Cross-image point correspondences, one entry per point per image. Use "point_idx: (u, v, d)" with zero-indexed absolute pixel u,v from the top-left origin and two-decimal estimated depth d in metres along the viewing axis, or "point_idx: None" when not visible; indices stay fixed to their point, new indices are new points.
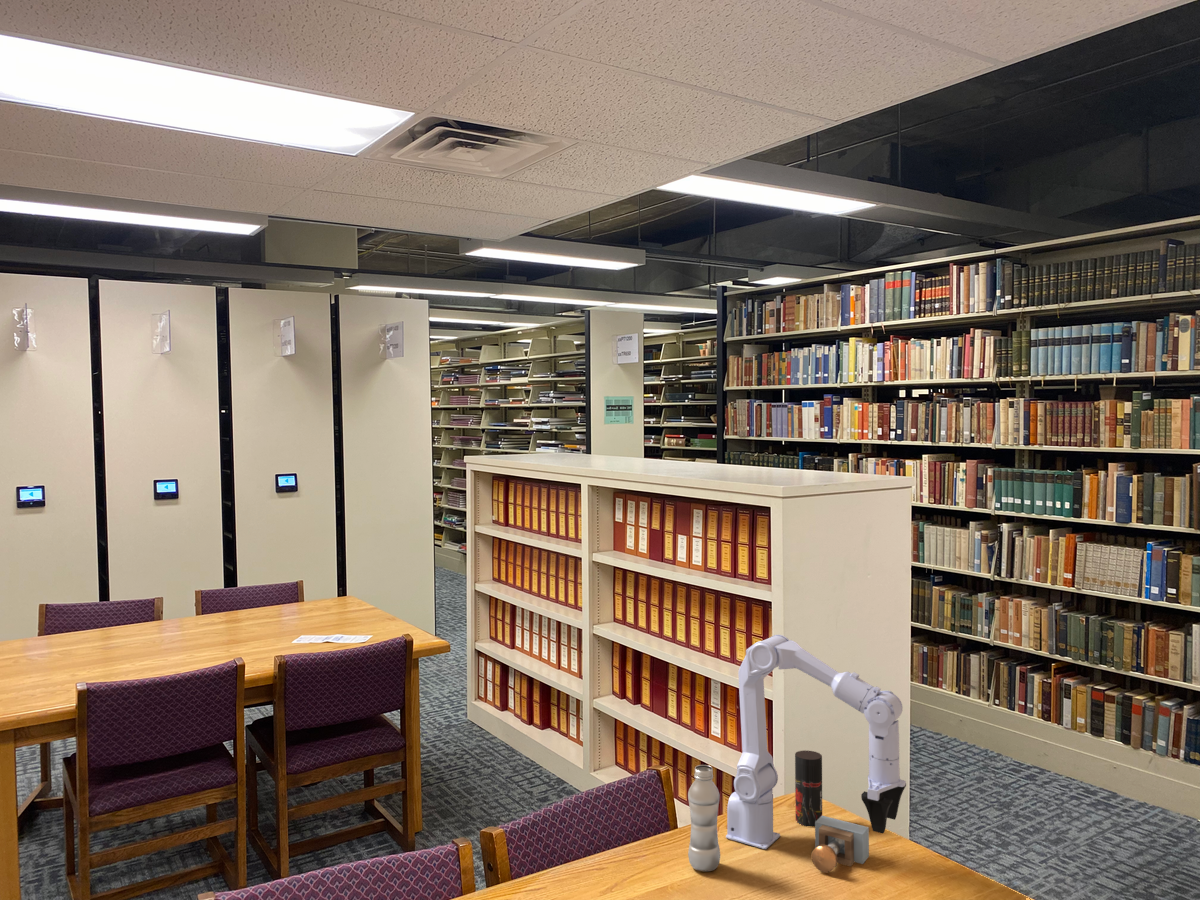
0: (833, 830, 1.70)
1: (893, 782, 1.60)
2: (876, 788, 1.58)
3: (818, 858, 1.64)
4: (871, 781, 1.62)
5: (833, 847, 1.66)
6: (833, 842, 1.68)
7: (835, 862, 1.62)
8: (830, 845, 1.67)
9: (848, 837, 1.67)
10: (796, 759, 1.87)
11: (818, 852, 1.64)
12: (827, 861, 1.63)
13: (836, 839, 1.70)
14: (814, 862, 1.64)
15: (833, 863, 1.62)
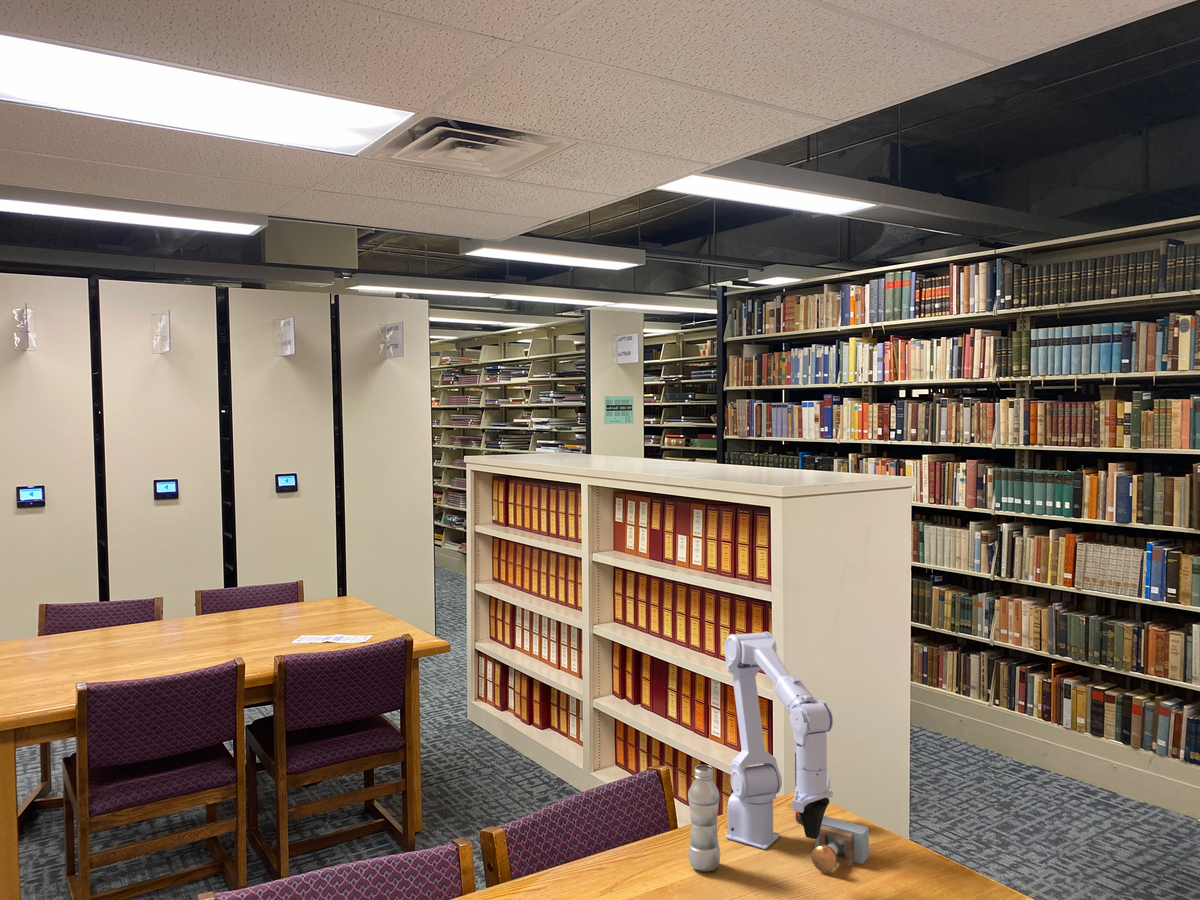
0: (833, 830, 1.70)
1: (820, 793, 1.56)
2: (801, 799, 1.54)
3: (818, 858, 1.64)
4: (798, 792, 1.58)
5: (833, 847, 1.66)
6: (833, 842, 1.68)
7: (835, 862, 1.62)
8: (830, 845, 1.67)
9: (848, 837, 1.67)
10: None
11: (818, 852, 1.64)
12: (827, 861, 1.63)
13: (836, 839, 1.70)
14: (814, 862, 1.64)
15: (833, 863, 1.62)
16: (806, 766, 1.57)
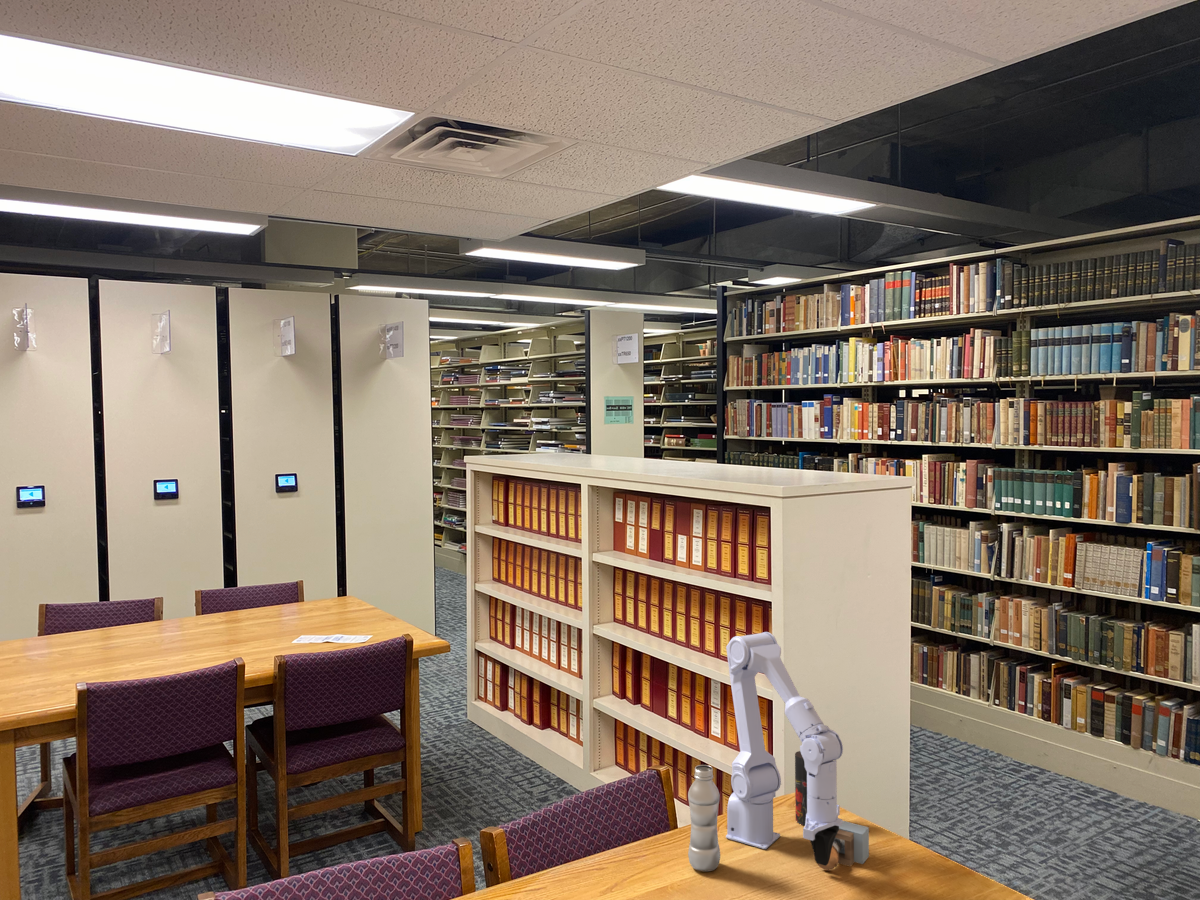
0: None
1: (830, 821, 1.60)
2: (812, 827, 1.59)
3: None
4: (808, 820, 1.62)
5: (835, 845, 1.67)
6: (835, 840, 1.69)
7: (837, 860, 1.63)
8: None
9: (848, 837, 1.67)
10: (796, 759, 1.87)
11: None
12: (829, 859, 1.64)
13: None
14: None
15: (835, 861, 1.63)
16: (820, 795, 1.61)
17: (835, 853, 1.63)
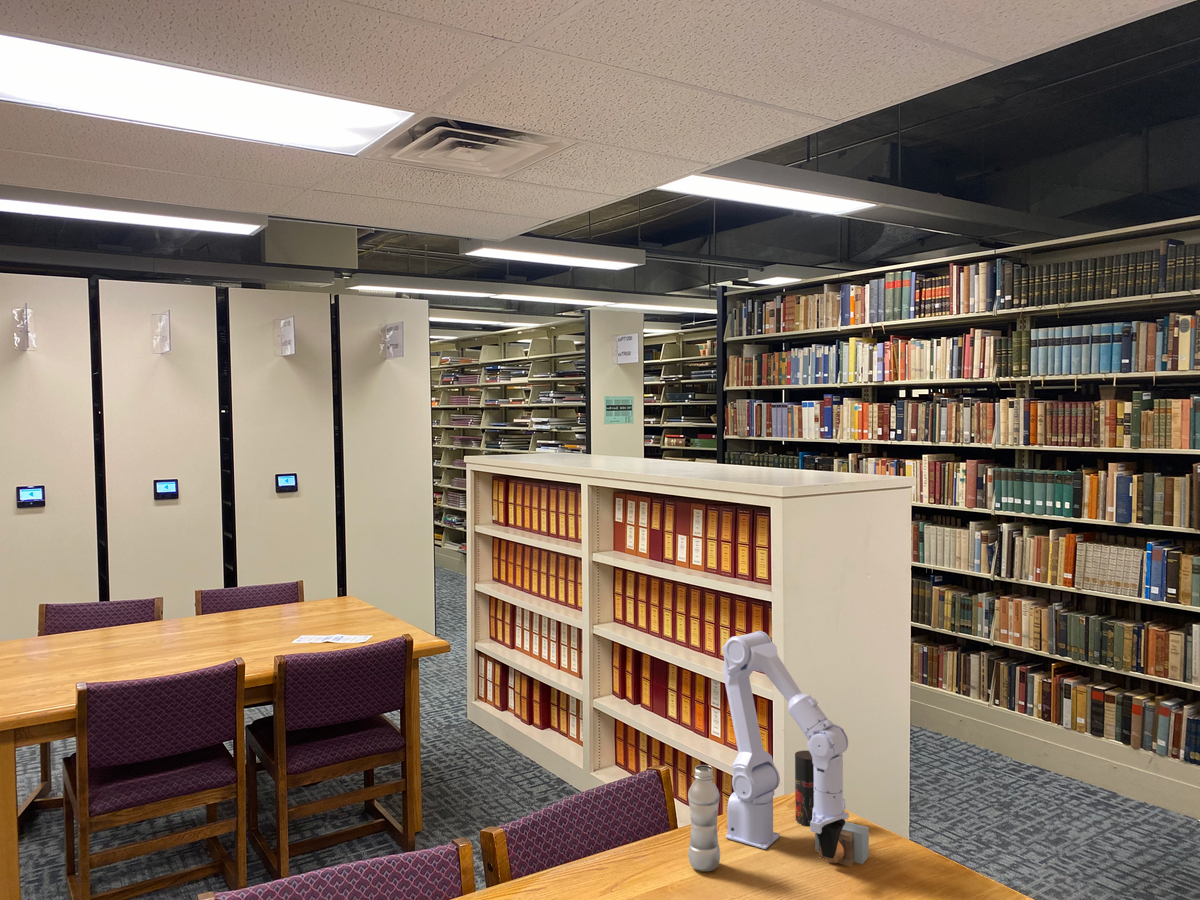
0: None
1: (836, 815, 1.63)
2: (819, 821, 1.61)
3: None
4: (815, 813, 1.65)
5: None
6: None
7: (843, 853, 1.66)
8: None
9: (848, 837, 1.67)
10: (796, 759, 1.87)
11: None
12: None
13: None
14: None
15: (841, 854, 1.66)
16: (829, 789, 1.63)
17: (841, 846, 1.66)
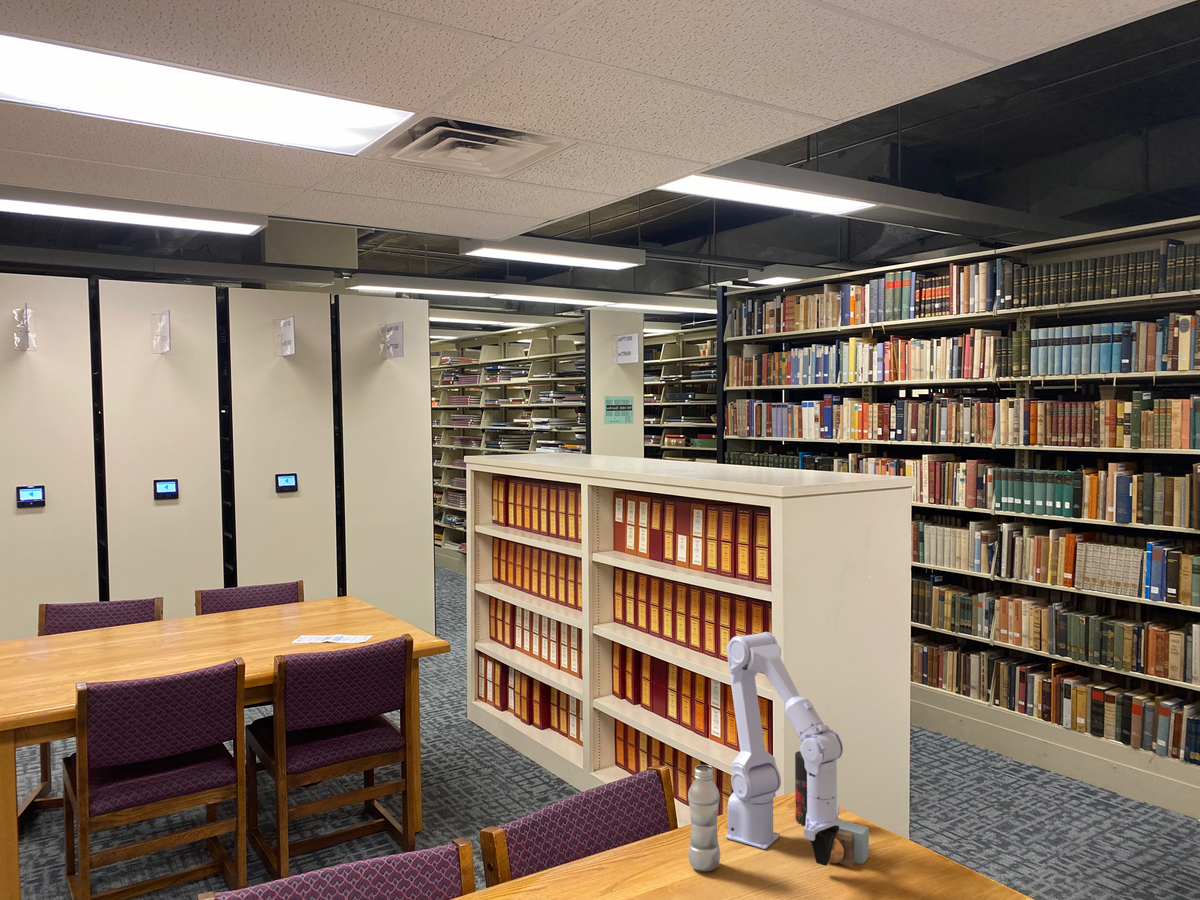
0: None
1: (830, 821, 1.60)
2: (812, 827, 1.58)
3: None
4: (809, 820, 1.62)
5: None
6: None
7: (843, 853, 1.66)
8: None
9: (848, 837, 1.67)
10: (796, 759, 1.87)
11: None
12: (835, 852, 1.67)
13: None
14: None
15: (841, 854, 1.66)
16: (820, 795, 1.60)
17: (841, 846, 1.66)
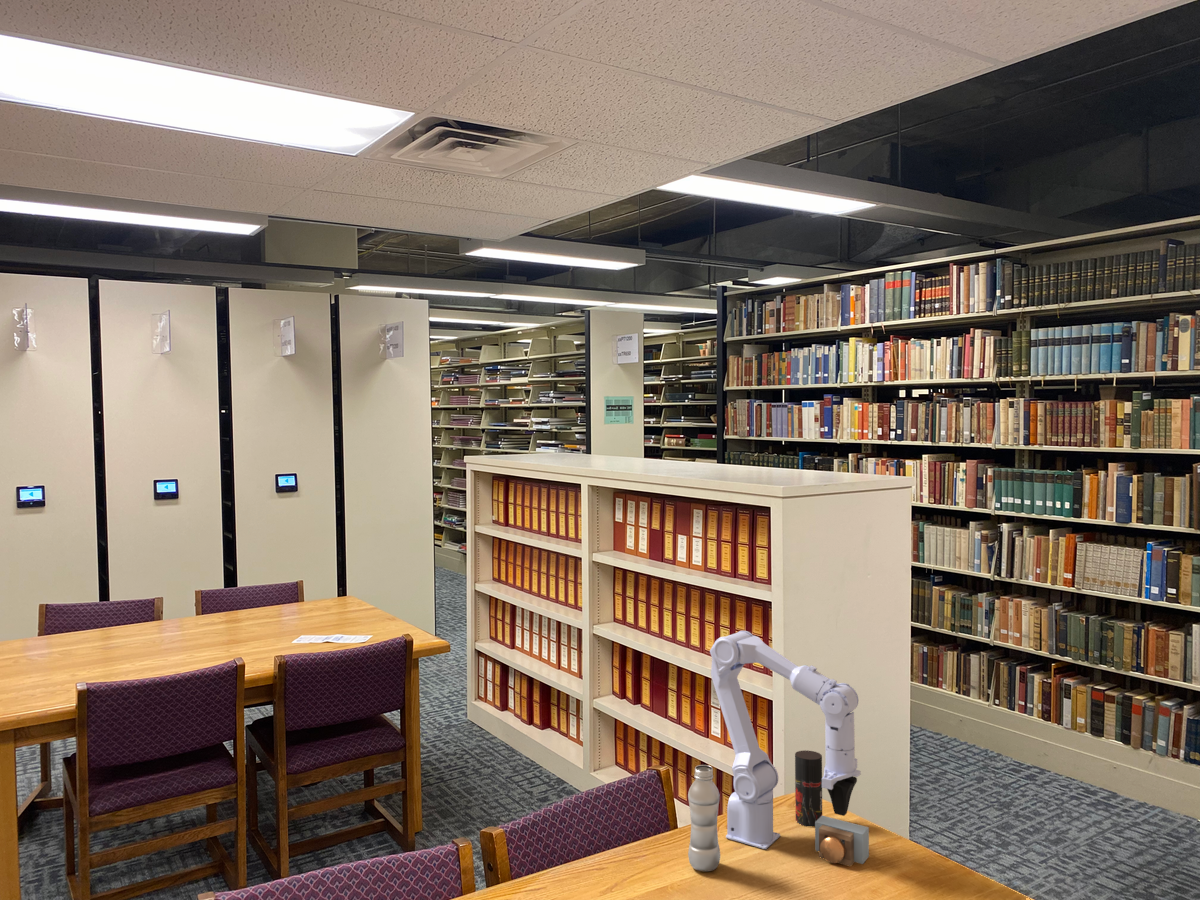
0: (833, 830, 1.70)
1: (848, 772, 1.65)
2: (830, 777, 1.63)
3: (826, 849, 1.68)
4: (827, 771, 1.66)
5: None
6: None
7: (843, 853, 1.66)
8: None
9: (848, 837, 1.67)
10: (796, 759, 1.87)
11: (826, 843, 1.68)
12: (835, 852, 1.67)
13: None
14: (823, 853, 1.68)
15: (841, 854, 1.66)
16: (843, 747, 1.64)
17: (841, 846, 1.66)
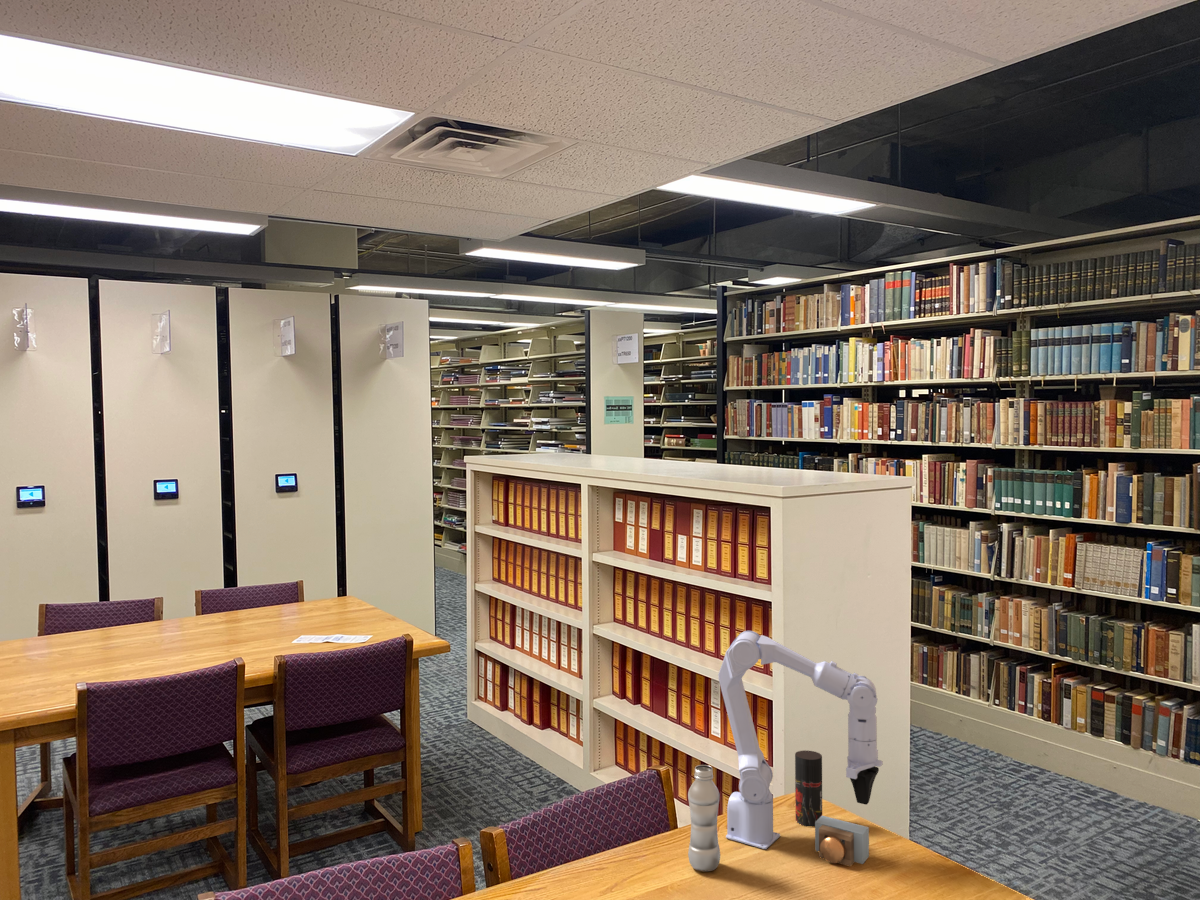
0: (833, 830, 1.70)
1: (871, 762, 1.70)
2: (854, 767, 1.68)
3: (826, 849, 1.68)
4: (850, 761, 1.72)
5: None
6: None
7: (843, 853, 1.66)
8: None
9: (848, 837, 1.67)
10: (796, 759, 1.87)
11: (826, 843, 1.68)
12: (835, 852, 1.67)
13: None
14: (823, 853, 1.68)
15: (841, 854, 1.66)
16: (871, 737, 1.70)
17: (841, 846, 1.66)
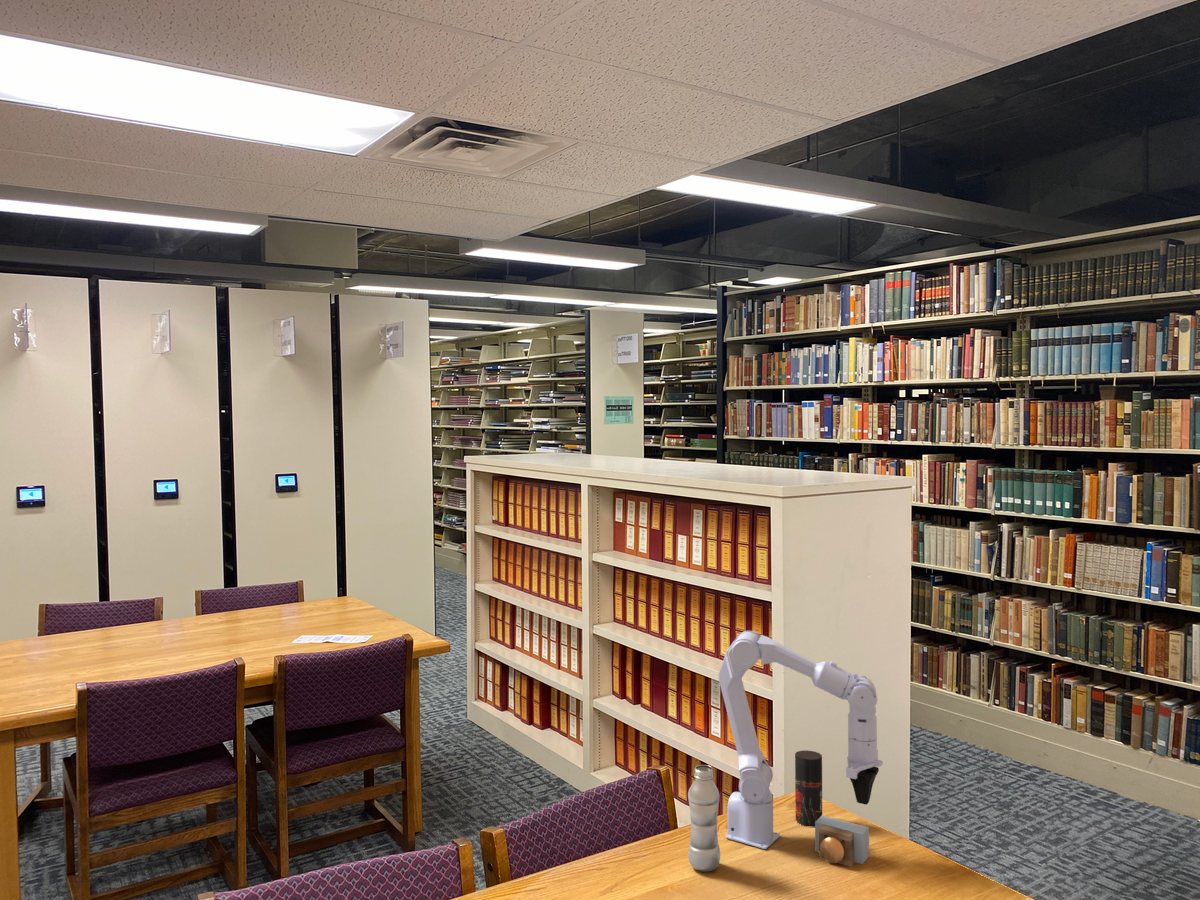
0: (833, 830, 1.70)
1: (871, 762, 1.70)
2: (854, 767, 1.68)
3: (826, 849, 1.68)
4: (850, 761, 1.72)
5: None
6: None
7: (843, 853, 1.66)
8: None
9: (848, 837, 1.67)
10: (796, 759, 1.87)
11: (826, 843, 1.68)
12: (835, 852, 1.67)
13: None
14: (823, 853, 1.68)
15: (841, 854, 1.66)
16: (871, 737, 1.70)
17: (841, 846, 1.66)
